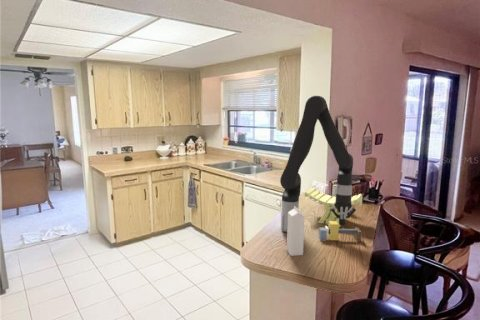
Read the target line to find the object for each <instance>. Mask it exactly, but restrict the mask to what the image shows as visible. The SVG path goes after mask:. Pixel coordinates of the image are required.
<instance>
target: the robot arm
mask: <svg viewBox="0 0 480 320" xmlns="http://www.w3.org/2000/svg"><path fill="white" fill-rule="evenodd" d="M301 118H302V119H301V122H300V124H299V126H298V128H297V129H298V130H297V132H296V134H295V137H294V140H293V144H292V147H291V149H290V153H289V157H288V159H287V163H286V165H285V167H284V169H283V172H282V174H281V176H280V180H279V181H280V182H279V183H280V186H281V187H282V188H283V189H284V191H283V193H282V195H281V212H280V229H281V230H280V231H281V232H283V233H287V225H288V212H289V211H291V210H292V209H294V206H295V207H296V208H298V210H299V207H300V206H299V203H300V202H299V201H300V196H301V188H302V178H301V175H300V173H299V170H300V168H301V166H302V165H303V163H304V161H305V160H306V158H307V157H308V155H309V153H310V151H311V148H312V145H313V142H314V138H315V129H316V126H317V125H316V124H317V122H319V123H320V126H321V129H322V132H323V135H324V138H325V141H326V142H327V144H328V146H329V148H330V150H331V151H332V153H333V157H334V159H335V162H336V164H337V165H338V172H337V176H336V185H337V186H336V202H335V204H334V206H333V207H330V209H331V210H332V212H333V213H334V214H335V216H336V217H337V218H339V224H340V225H341V226H340V227H344V226H345V225H346V220H347V219H349V218H351V216H353V214H354V213H355V212H356V208H355V207H353V205H351V197H353V196H352V195H353V193H352V191H353V189H352V188H353V187H352V185H353V184H352V182H353V169H354V168H353V167H354V158H353V155H352V154H351V153H349V151H348V149H347V148H346V147H347V146H346V143H345V141H344V139H343V137H342V136H341V134H340V132H339V130H338V128H337V127H336V124H335V123H334V121H333V118H332V115H331V113H330V109H329V108H328V104H327V101H326V99H325V98H324V97H323V96H320V95H311V96H310V97H309V98H308V99H307V100H306V102H305V105H304V110H303V115H302V117H301ZM335 208H336V209H337V210H338V211H339V215H338V214H337V213H336V212H335V211H336V209H335Z"/></svg>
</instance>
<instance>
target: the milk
mask: <svg viewBox="0 0 480 320" xmlns="http://www.w3.org/2000/svg"><path fill="white" fill-rule="evenodd" d="M304 236H305V215H304V214H303V213H302V212H301V211H299V209H298V208H296V207H295V206H294V209H292V210H291V211H289V212H288V225H287V232H286V238H287V239H286V251H287V253H288V254H289V255H290V256H291V257H292V256H293V257H294V256H304V238H305V237H304Z"/></svg>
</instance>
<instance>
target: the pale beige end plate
mask: <svg viewBox="0 0 480 320" xmlns="http://www.w3.org/2000/svg"><path fill="white" fill-rule="evenodd" d="M324 228H325V229H326V230H327V234H326V237H328V234H329V228H328V226H327V225H324Z"/></svg>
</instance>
